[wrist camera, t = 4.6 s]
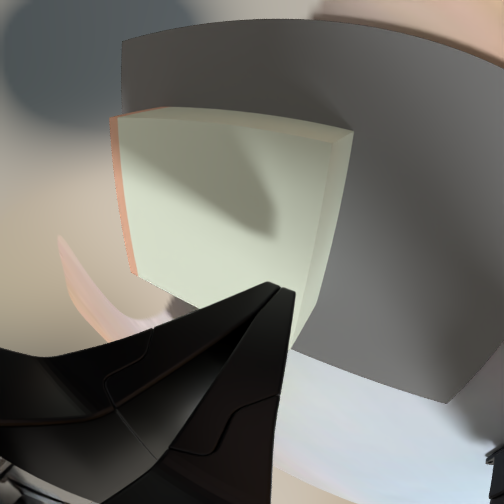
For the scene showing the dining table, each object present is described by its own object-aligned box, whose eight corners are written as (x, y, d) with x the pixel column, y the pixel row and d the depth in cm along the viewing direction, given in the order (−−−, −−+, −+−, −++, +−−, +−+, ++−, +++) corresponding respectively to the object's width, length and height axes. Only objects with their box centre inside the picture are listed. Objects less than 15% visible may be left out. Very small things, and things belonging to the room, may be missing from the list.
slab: (332, 143, 7) (109, 117, 10) (289, 350, 11) (131, 272, 15) (354, 131, 9) (162, 106, 12) (316, 303, 14) (170, 245, 17)
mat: (584, 124, 4) (593, 127, 3) (447, 393, 13) (446, 404, 12) (133, 41, 12) (122, 41, 11) (149, 271, 21) (142, 277, 20)
